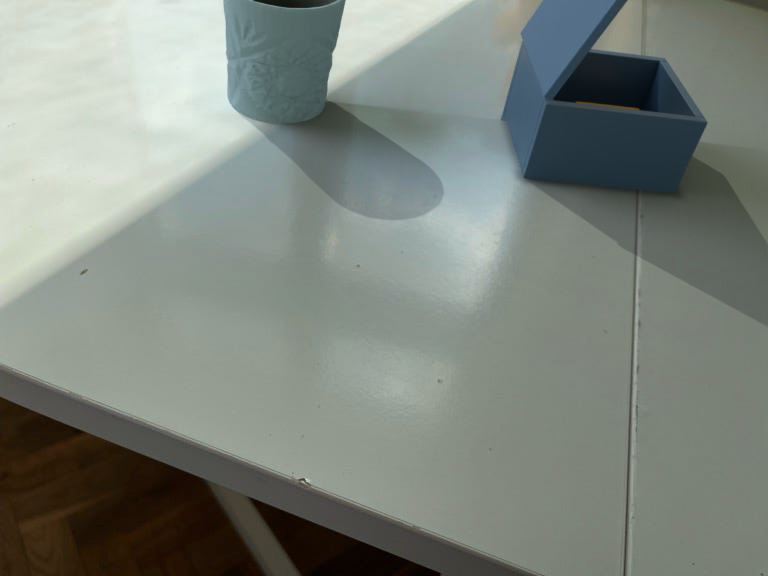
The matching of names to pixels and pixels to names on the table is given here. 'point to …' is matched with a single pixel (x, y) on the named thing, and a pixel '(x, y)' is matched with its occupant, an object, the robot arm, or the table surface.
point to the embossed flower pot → (280, 56)
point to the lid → (565, 37)
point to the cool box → (605, 123)
